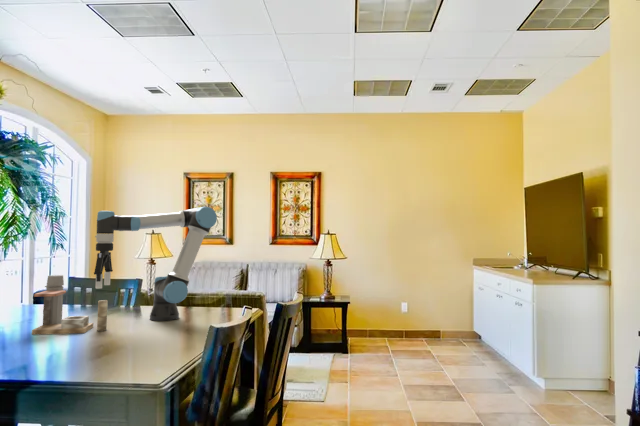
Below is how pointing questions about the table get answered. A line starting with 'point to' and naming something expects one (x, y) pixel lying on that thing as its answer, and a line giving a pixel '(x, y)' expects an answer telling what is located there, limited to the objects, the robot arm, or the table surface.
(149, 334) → the table surface
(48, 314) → the socket station
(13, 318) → the table surface
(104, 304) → the peg
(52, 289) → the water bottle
